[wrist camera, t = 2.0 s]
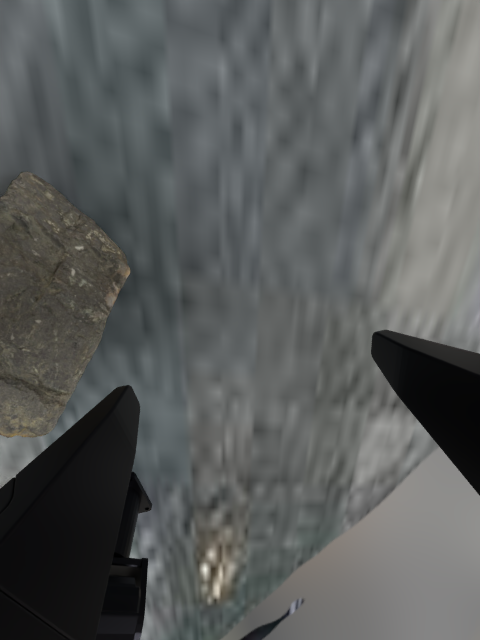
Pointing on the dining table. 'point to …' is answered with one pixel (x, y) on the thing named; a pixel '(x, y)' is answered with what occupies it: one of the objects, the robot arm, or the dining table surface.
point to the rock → (49, 302)
